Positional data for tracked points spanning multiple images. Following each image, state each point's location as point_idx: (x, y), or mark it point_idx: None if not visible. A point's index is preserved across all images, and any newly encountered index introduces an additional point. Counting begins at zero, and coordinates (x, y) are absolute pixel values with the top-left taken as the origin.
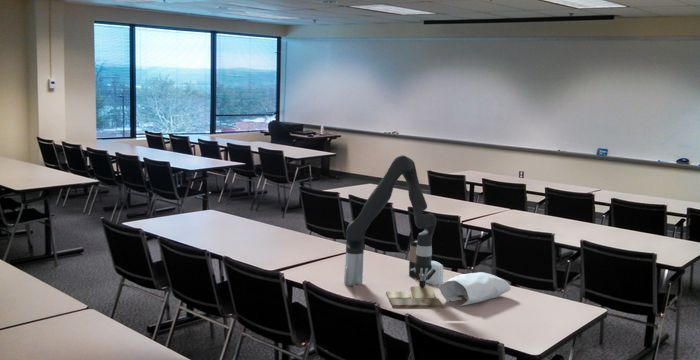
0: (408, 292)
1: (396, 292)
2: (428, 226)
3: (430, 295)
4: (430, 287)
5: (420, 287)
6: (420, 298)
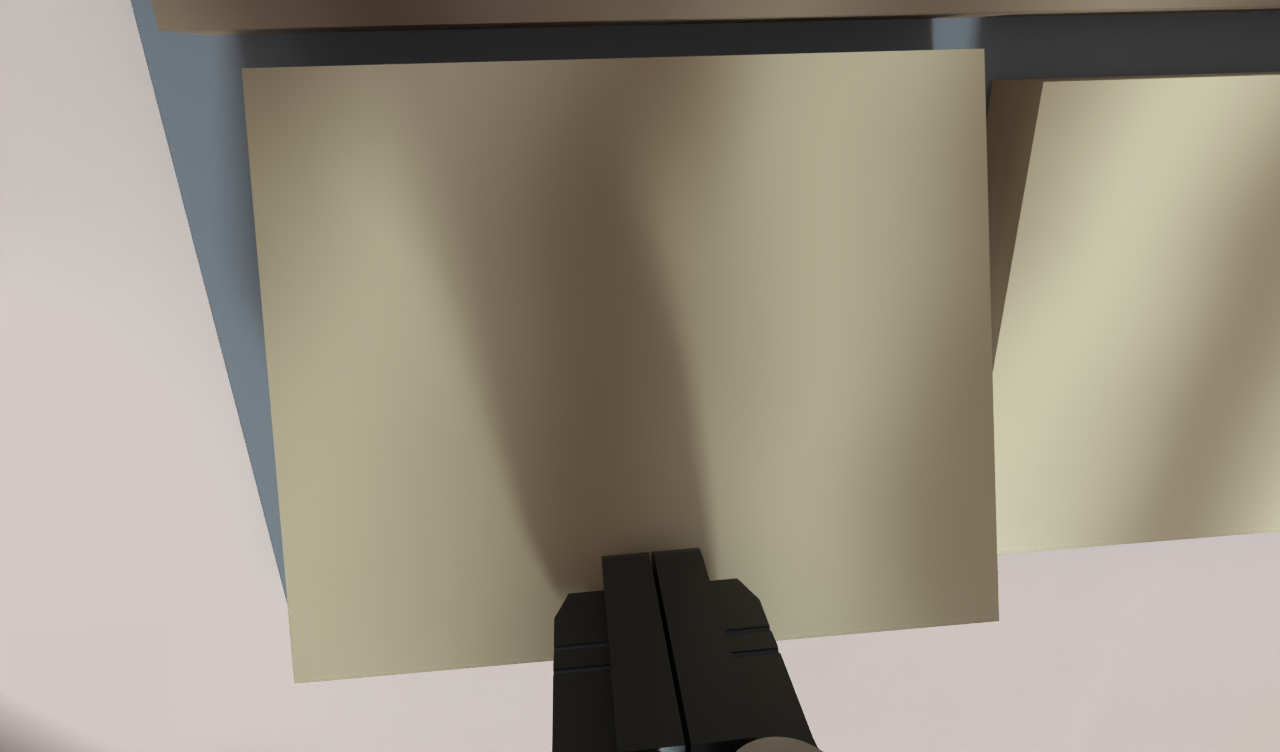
0: None
1: (1255, 478)
2: None
3: (422, 199)
4: (366, 629)
5: None
6: (782, 14)
